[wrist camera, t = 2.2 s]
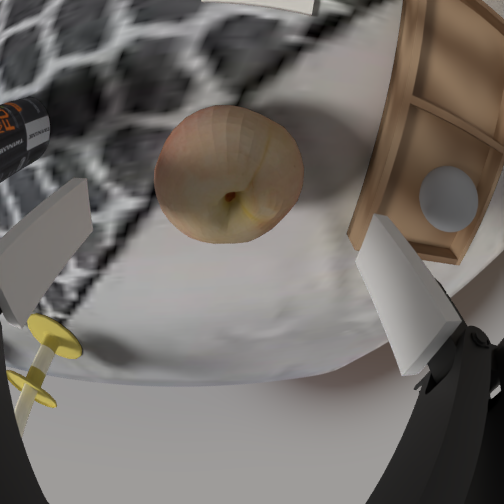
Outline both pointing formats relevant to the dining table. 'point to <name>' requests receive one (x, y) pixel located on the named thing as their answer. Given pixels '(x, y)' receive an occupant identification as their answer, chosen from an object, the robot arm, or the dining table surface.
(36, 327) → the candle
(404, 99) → the divided wooden tray
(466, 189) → the grey ball
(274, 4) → the tile
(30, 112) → the pill bottle
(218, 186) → the fruit
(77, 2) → the dining table surface
